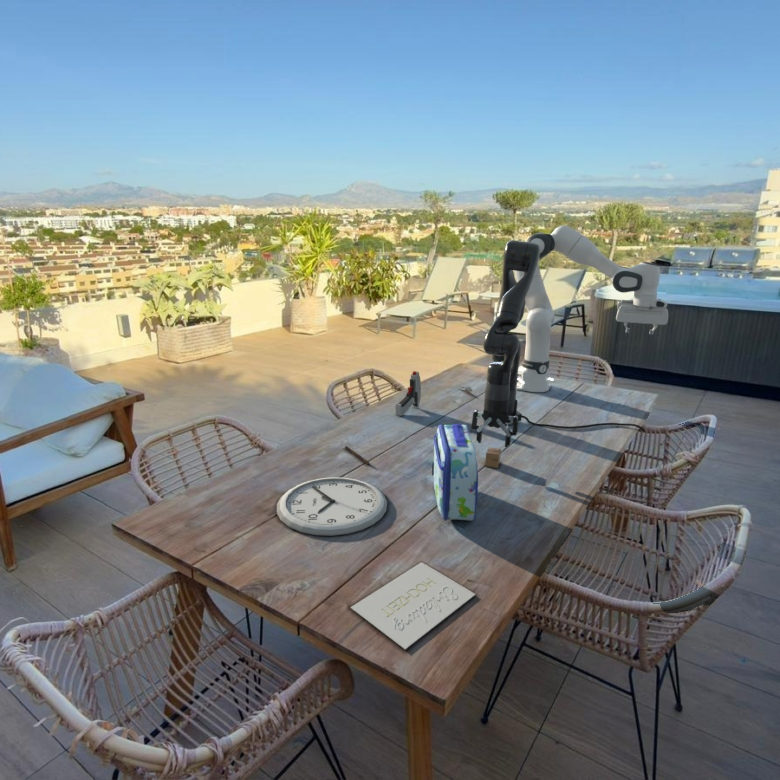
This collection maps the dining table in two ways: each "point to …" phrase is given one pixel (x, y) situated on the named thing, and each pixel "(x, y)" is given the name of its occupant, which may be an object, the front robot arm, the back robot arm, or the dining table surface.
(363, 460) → the dark brown stick
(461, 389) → the fork
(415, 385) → the toy gun
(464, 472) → the lunch box
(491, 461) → the block
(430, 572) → the invitation card
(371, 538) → the dining table surface
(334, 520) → the wall clock
